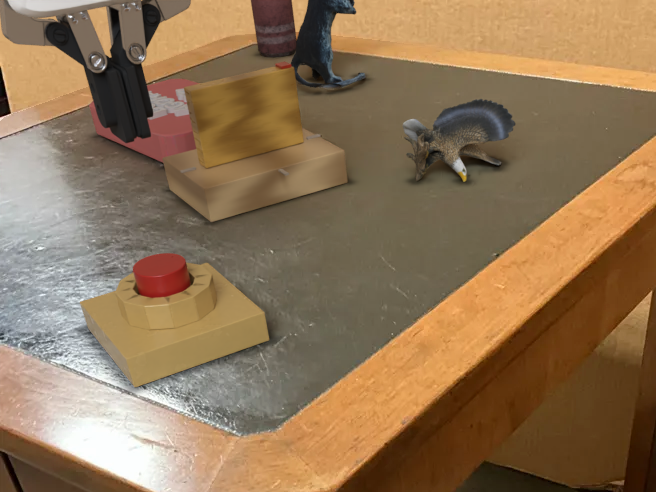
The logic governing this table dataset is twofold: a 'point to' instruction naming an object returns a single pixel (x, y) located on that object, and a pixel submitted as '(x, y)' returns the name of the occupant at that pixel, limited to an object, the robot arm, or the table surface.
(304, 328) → the table surface
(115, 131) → the robot arm
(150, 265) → the button
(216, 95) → the wooden block
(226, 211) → the stand
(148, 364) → the switch
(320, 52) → the sculpture
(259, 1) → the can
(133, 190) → the table surface
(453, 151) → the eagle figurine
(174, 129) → the plaque
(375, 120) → the table surface
